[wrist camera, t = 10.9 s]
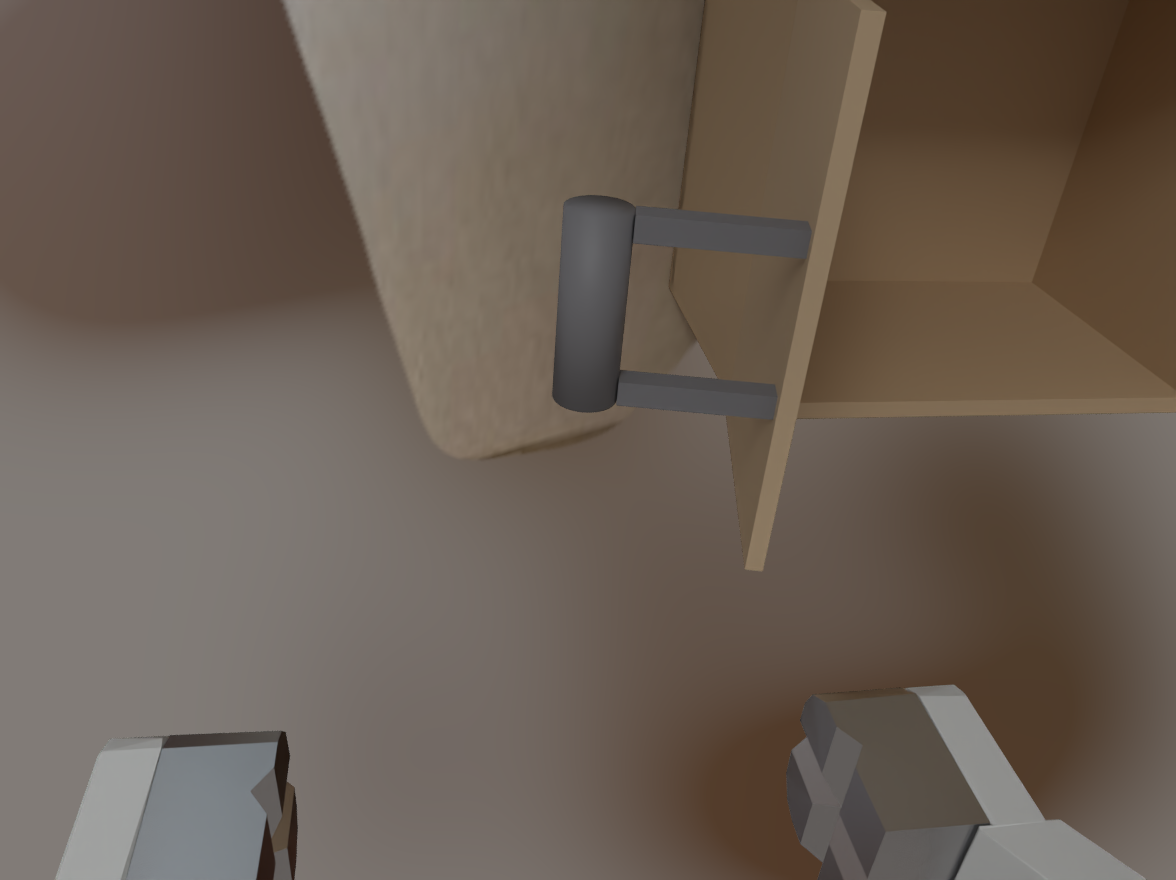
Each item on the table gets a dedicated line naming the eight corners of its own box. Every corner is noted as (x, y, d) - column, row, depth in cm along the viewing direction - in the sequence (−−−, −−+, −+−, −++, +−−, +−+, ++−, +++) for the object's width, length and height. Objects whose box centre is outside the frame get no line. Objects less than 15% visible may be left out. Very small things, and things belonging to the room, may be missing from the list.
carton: (715, -86, 43) (826, -50, 31) (1151, -53, 46) (1396, -11, 35) (668, 287, 52) (740, 419, 41) (1032, 289, 56) (1193, 412, 44)
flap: (822, -36, 31) (597, -56, 31) (888, 13, 22) (573, -15, 22) (739, 415, 40) (565, 398, 40) (763, 575, 32) (540, 554, 32)
